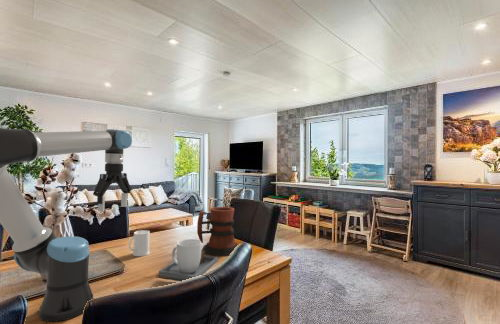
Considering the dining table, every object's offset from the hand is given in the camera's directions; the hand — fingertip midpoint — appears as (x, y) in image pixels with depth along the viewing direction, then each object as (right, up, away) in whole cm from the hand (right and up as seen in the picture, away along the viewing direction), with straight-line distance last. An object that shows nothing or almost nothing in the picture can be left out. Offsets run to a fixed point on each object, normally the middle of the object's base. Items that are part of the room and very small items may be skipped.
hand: (113, 208), depth 120 cm
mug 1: (+2, -29, +22) cm, 36 cm away
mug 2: (+35, -28, -1) cm, 45 cm away
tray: (+35, -29, +2) cm, 46 cm away
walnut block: (+38, -28, +10) cm, 48 cm away
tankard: (+46, -30, +28) cm, 62 cm away
